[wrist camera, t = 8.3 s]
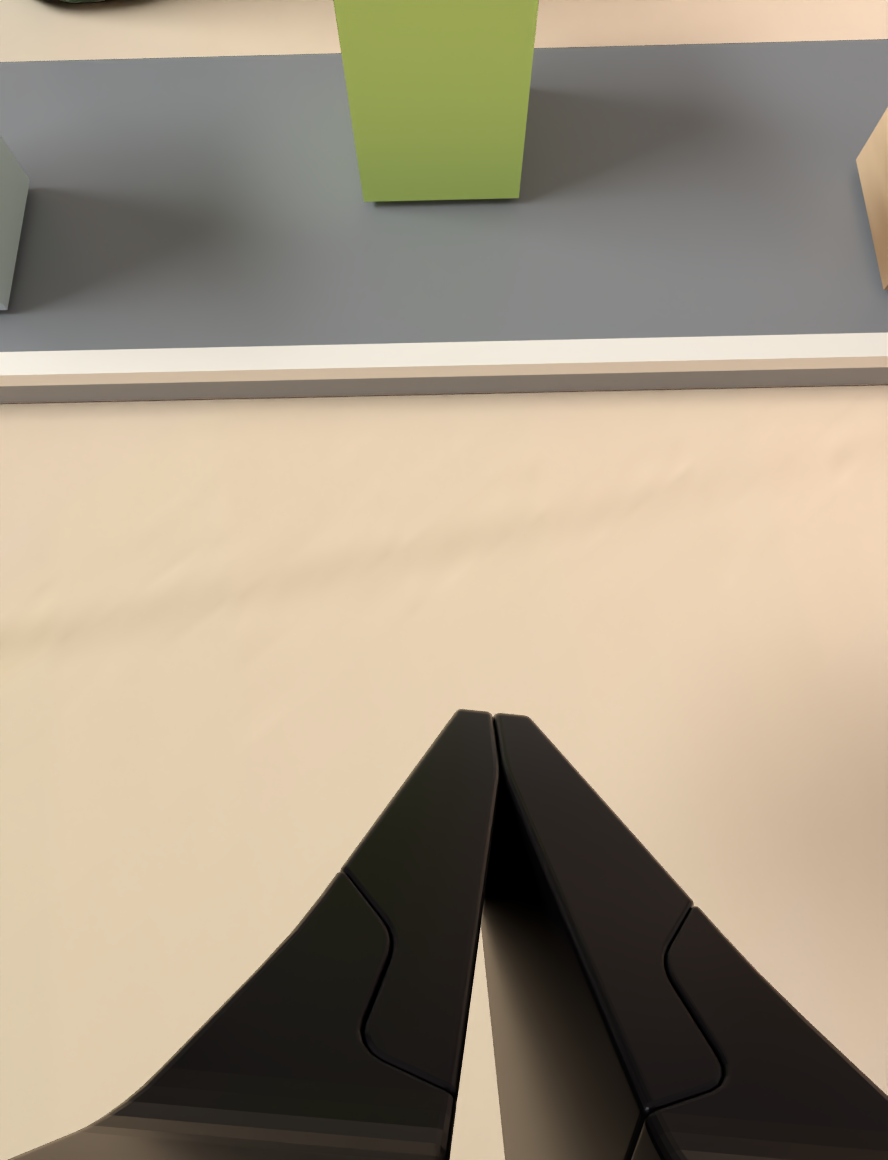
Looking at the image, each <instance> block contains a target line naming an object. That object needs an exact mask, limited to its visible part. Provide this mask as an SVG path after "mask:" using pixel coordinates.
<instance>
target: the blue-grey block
mask: <svg viewBox="0 0 888 1160" xmlns="http://www.w3.org/2000/svg"><path fill="white" fill-rule="evenodd" d="M29 182H30V179H29V178H28V176H27V175H26V173H25V172H24V170H23V169H22V167H21V166H20V164H19V163H18V161H17V160H16V158H15V157H14V155H13V154H12V152H11V151H10V149H9V148H8V146H7V145H6V143H5V142H4V140H3V139H2V137H1V136H0V310H7V309H8V303H9V298H10V292H11V286H12V280H13V274H14V269H15V263H16V257H17V251H18V246H19V240H20V234H21V228H22V223H23V217H24V211H25V205H26V199H27V194H28V188H29Z"/></svg>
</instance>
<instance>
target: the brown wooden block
mask: <svg viewBox="0 0 888 1160" xmlns="http://www.w3.org/2000/svg"><path fill="white" fill-rule="evenodd" d="M856 162H857V167H858V172H859V177H860V181H861V186H862V191H863V196H864V200H865V205H866V210H867V214H868V219H869V224H870V229H871V233H872V238H873V243H874V247H875V252H876V257H877V262H878V266H879V271H880V276H881V281H882V285H883V290H888V107H887V109H886V111H885V112H884V114H883V116H882V117H881V119H880V121H879V122H878V124H877V126H876V127H875V129H874V131H873V132H872V134H871V136H870V137H869V139H868V141H867V142H866V144H865V146H864V147H863V149H862V150H861V152H860V154H859V155H858V157H857V159H856Z"/></svg>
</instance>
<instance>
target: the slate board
mask: <svg viewBox="0 0 888 1160" xmlns="http://www.w3.org/2000/svg"><path fill="white" fill-rule="evenodd" d="M887 107H888V39H877V40H838V41H800V42H761V43H722V44H684V45H645V46H606V47H568V48H534V51H533V61H532V71H531V81H530V91H529V102H528V112H527V122H526V132H525V142H524V152H523V162H522V172H521V182H520V192H519V198H502V199H460V200H419V201H377V202H364V201H363V194H362V187H361V181H360V174H359V167H358V161H357V154H356V147H355V141H354V134H353V127H352V121H351V114H350V107H349V101H348V94H347V87H346V81H345V74H344V67H343V61H342V54H341V53H336V54H297V55H258V56H220V57H181V58H143V59H104V60H65V61H27V62H0V136H1V137H2V139H3V140H4V142H5V143H6V145H7V146H8V148H9V149H10V151H11V152H12V154H13V155H14V157H15V158H16V160H17V161H18V163H19V164H20V166H21V167H22V169H23V170H24V172H25V173H26V175H27V176H28V178H29V179H30V182H29V188H28V194H27V199H26V205H25V211H24V217H23V223H22V228H21V234H20V240H19V246H18V251H17V257H16V263H15V269H14V274H13V280H12V286H11V292H10V298H9V303H8V309H7V310H0V403H47V402H94V401H140V400H187V399H234V398H281V397H327V396H374V395H421V394H468V393H515V392H561V391H608V390H655V389H702V388H748V387H795V386H842V385H888V290H883V285H882V281H881V276H880V271H879V266H878V262H877V257H876V252H875V247H874V243H873V238H872V233H871V229H870V224H869V219H868V214H867V210H866V205H865V200H864V196H863V191H862V186H861V181H860V177H859V172H858V167H857V162H856V159H857V157H858V155H859V154H860V152H861V150H862V149H863V147H864V146H865V144H866V142H867V141H868V139H869V137H870V136H871V134H872V132H873V131H874V129H875V127H876V126H877V124H878V122H879V121H880V119H881V117H882V116H883V114H884V112H885V111H886V109H887Z"/></svg>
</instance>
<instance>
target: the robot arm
mask: <svg viewBox="0 0 888 1160" xmlns="http://www.w3.org/2000/svg"><path fill="white" fill-rule="evenodd" d="M693 906H694V903H693V901H692V899H691V898H690V897H689V896H688V895H687V894H686V893H685V892H684V890H683V889H682V888H681V887H680V886H679V885H678V884H677V883H676V881H675V880H674V879H673V878H672V877H671V876H670V875H669V874H668V872H667V871H666V870H665V869H664V868H663V867H662V866H661V865H660V863H659V862H658V861H657V860H656V859H655V858H654V857H653V856H652V854H651V853H650V852H649V851H648V850H647V849H646V848H645V847H644V846H643V844H642V843H641V842H640V841H639V840H638V839H637V838H636V837H635V835H634V834H633V833H632V832H631V831H630V830H629V829H628V828H627V826H626V825H625V824H624V823H623V822H622V821H621V820H620V819H619V817H618V816H617V815H616V814H615V813H614V812H613V811H612V810H611V808H610V807H609V806H608V805H607V804H606V803H605V802H604V801H603V799H602V798H601V797H600V796H599V795H598V794H597V793H596V792H595V790H594V789H593V788H592V787H591V786H590V785H589V784H588V783H587V781H586V780H585V779H584V778H583V777H582V776H581V775H580V774H579V772H578V771H577V770H576V769H575V768H574V767H573V766H572V765H571V763H570V762H569V761H568V760H567V759H566V758H565V757H564V756H563V754H562V753H561V752H560V751H559V750H558V749H557V748H556V747H555V745H554V744H553V743H552V742H551V741H550V740H549V739H548V738H547V736H546V735H545V734H544V733H543V732H542V731H541V730H540V729H539V727H538V726H537V725H536V724H535V723H534V722H533V721H532V720H531V719H530V718H529V717H527V716H524V715H514V714H504V713H497V714H495V715H494V717H492V715H491V714H490V713H489V712H485V711H475V710H465V709H460V710H458V711H456V712H455V714H454V715H453V716H452V718H451V719H450V720H449V722H448V723H447V724H446V726H445V727H444V729H443V730H442V731H441V733H440V734H439V735H438V737H437V738H436V739H435V741H434V742H433V744H432V745H431V746H430V748H429V749H428V750H427V752H426V753H425V755H424V756H423V757H422V759H421V760H420V761H419V763H418V764H417V765H416V767H415V768H414V770H413V771H412V772H411V774H410V775H409V776H408V778H407V779H406V781H405V782H404V783H403V785H402V786H401V787H400V789H399V790H398V791H397V793H396V794H395V796H394V797H393V798H392V800H391V801H390V802H389V804H388V805H387V806H386V808H385V809H384V811H383V812H382V813H381V815H380V816H379V817H378V819H377V820H376V822H375V823H374V824H373V826H372V827H371V828H370V830H369V831H368V832H367V834H366V835H365V837H364V838H363V839H362V841H361V842H360V843H359V845H358V846H357V847H356V849H355V850H354V852H353V853H352V854H351V856H350V857H349V858H348V860H347V861H346V863H345V864H344V865H343V867H342V868H341V871H340V872H339V873H337V874H336V876H335V877H334V878H333V880H332V881H331V882H330V884H329V885H328V887H327V888H326V889H325V891H324V892H323V893H322V895H321V896H320V897H319V899H318V900H317V901H316V902H315V904H314V905H313V906H312V907H311V909H310V910H309V911H308V913H307V914H306V915H305V916H304V918H303V919H302V920H301V921H300V923H299V924H298V925H297V926H296V928H295V929H294V930H293V931H292V933H291V934H290V935H289V936H288V937H287V938H286V939H285V940H284V941H283V942H282V943H281V944H280V946H279V947H278V948H277V949H276V950H275V951H274V952H273V953H272V954H271V955H270V956H269V957H268V959H267V960H266V961H265V962H264V963H263V964H262V965H261V966H260V967H259V968H258V969H257V970H256V971H255V973H254V974H253V975H252V976H251V977H250V978H249V979H248V980H247V981H246V982H245V983H244V984H243V985H242V986H241V987H240V988H239V989H238V990H237V991H236V992H235V993H234V994H233V995H232V996H231V997H230V998H229V999H228V1000H227V1001H226V1002H225V1003H224V1004H223V1005H222V1006H221V1007H220V1008H219V1009H218V1010H217V1011H216V1012H215V1013H214V1014H213V1015H212V1016H211V1017H210V1018H209V1020H208V1021H207V1022H206V1023H205V1024H204V1025H203V1026H202V1027H201V1028H200V1029H199V1030H198V1031H197V1032H196V1033H195V1034H194V1035H193V1036H192V1037H191V1038H190V1039H189V1040H188V1041H187V1042H186V1043H185V1044H184V1045H183V1046H182V1047H181V1048H180V1049H179V1050H178V1051H177V1052H176V1053H175V1054H174V1055H173V1056H172V1057H171V1058H170V1059H169V1060H168V1061H167V1062H166V1063H165V1064H164V1066H163V1067H162V1068H161V1069H160V1070H159V1071H158V1072H156V1073H155V1074H154V1075H153V1076H152V1077H151V1078H150V1079H149V1080H148V1081H147V1082H146V1083H145V1084H144V1085H143V1086H142V1087H141V1088H140V1089H139V1090H137V1091H136V1092H135V1093H134V1094H133V1095H131V1096H130V1097H129V1098H128V1099H127V1100H126V1101H124V1102H123V1103H122V1104H120V1105H119V1106H118V1107H116V1108H115V1109H113V1110H112V1111H111V1112H109V1113H108V1114H106V1115H105V1116H104V1117H102V1118H100V1119H99V1120H97V1121H95V1122H94V1123H92V1124H90V1125H89V1126H87V1127H85V1128H83V1129H81V1130H79V1131H76V1132H74V1133H72V1134H69V1135H67V1136H64V1137H62V1138H60V1139H57V1140H55V1141H52V1142H50V1143H47V1144H45V1145H43V1146H40V1147H38V1148H35V1149H33V1150H30V1151H28V1152H25V1153H23V1154H21V1155H18V1156H16V1157H13V1158H11V1159H8V1160H449V1159H450V1151H451V1143H452V1135H453V1127H454V1119H455V1112H456V1102H457V1097H458V1090H459V1082H460V1075H461V1067H462V1060H463V1053H464V1045H465V1038H466V1031H467V1023H468V1016H469V1008H470V1001H471V994H472V986H473V979H474V971H475V964H476V957H477V949H478V942H479V934H480V927H481V929H482V939H483V948H484V958H485V968H486V978H487V987H488V997H489V1007H490V1016H491V1026H492V1036H493V1046H494V1055H495V1065H496V1075H497V1085H498V1094H499V1104H500V1114H501V1123H502V1133H503V1143H504V1153H505V1160H888V1096H887V1095H886V1094H885V1093H884V1092H883V1091H882V1090H881V1089H880V1088H879V1087H878V1086H876V1085H875V1084H874V1083H873V1082H872V1081H871V1080H870V1079H869V1078H868V1077H867V1076H866V1075H865V1074H864V1073H863V1072H862V1071H861V1070H859V1069H858V1068H857V1067H856V1066H855V1065H854V1064H853V1063H852V1062H851V1061H850V1060H849V1059H848V1058H847V1057H846V1056H845V1055H844V1054H843V1053H841V1052H840V1051H839V1050H838V1049H837V1048H836V1047H835V1046H834V1045H833V1044H832V1043H831V1042H830V1041H829V1040H828V1039H827V1038H826V1037H824V1036H823V1035H822V1034H821V1033H820V1032H819V1031H818V1030H817V1029H816V1028H815V1027H814V1026H813V1025H812V1024H811V1023H810V1022H809V1021H808V1020H806V1019H805V1018H804V1017H803V1016H802V1015H801V1014H800V1013H799V1012H798V1011H797V1010H796V1009H795V1008H794V1007H793V1006H792V1005H791V1004H790V1003H789V1002H788V1001H787V1000H786V999H785V998H784V997H783V996H782V995H781V994H780V993H779V992H778V991H777V990H776V989H775V988H774V987H773V986H772V985H771V984H770V983H769V982H768V981H767V980H766V979H765V978H764V977H763V976H762V975H761V974H760V973H759V972H758V971H757V970H756V969H755V968H754V967H753V966H752V965H751V964H750V963H749V962H748V961H747V960H746V958H745V957H744V956H743V955H742V954H741V953H740V952H739V951H738V950H737V949H736V948H735V947H734V946H733V945H732V943H731V942H730V941H729V940H728V939H727V938H726V937H725V936H724V935H723V934H722V933H721V932H720V931H719V929H718V928H717V927H716V926H715V925H714V924H713V923H712V922H711V920H710V919H709V918H708V917H707V916H706V915H705V914H704V913H703V911H702V910H701V909H700V908H699V907H696V906H695V907H693Z"/></svg>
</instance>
